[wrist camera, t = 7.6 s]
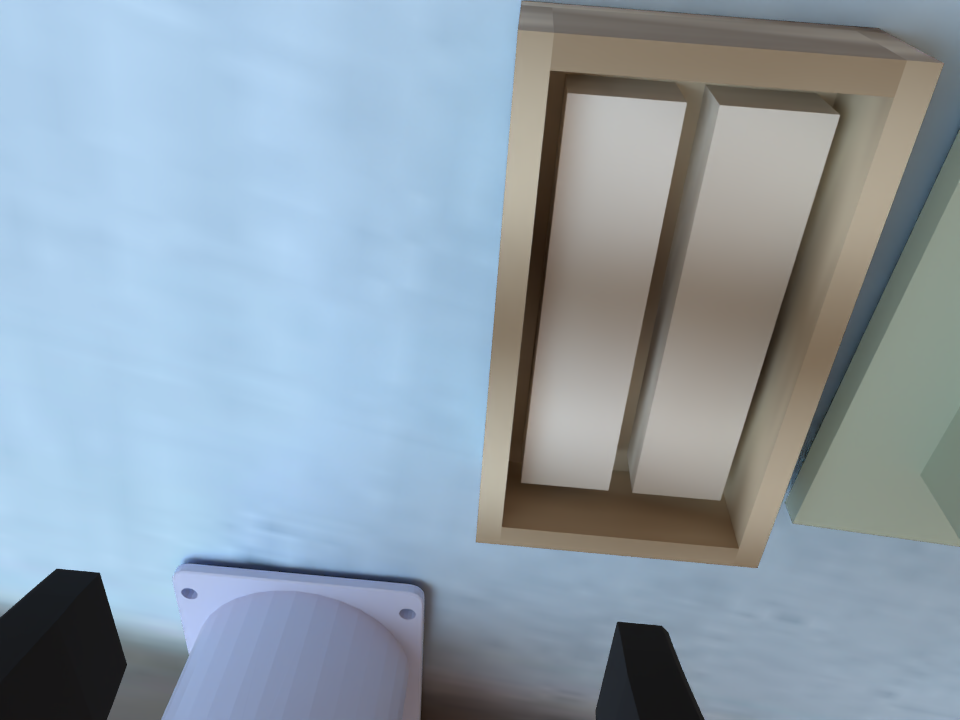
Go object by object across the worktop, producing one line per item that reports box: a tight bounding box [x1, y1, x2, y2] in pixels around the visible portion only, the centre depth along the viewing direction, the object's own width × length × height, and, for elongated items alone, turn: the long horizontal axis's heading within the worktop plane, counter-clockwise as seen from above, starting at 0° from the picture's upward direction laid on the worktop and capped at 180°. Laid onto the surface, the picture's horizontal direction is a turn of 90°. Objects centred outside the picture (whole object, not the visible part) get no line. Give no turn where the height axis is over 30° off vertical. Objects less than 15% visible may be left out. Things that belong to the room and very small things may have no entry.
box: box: [476, 1, 944, 568], centre depth 17 cm, size 12×7×3 cm, turn 176°
